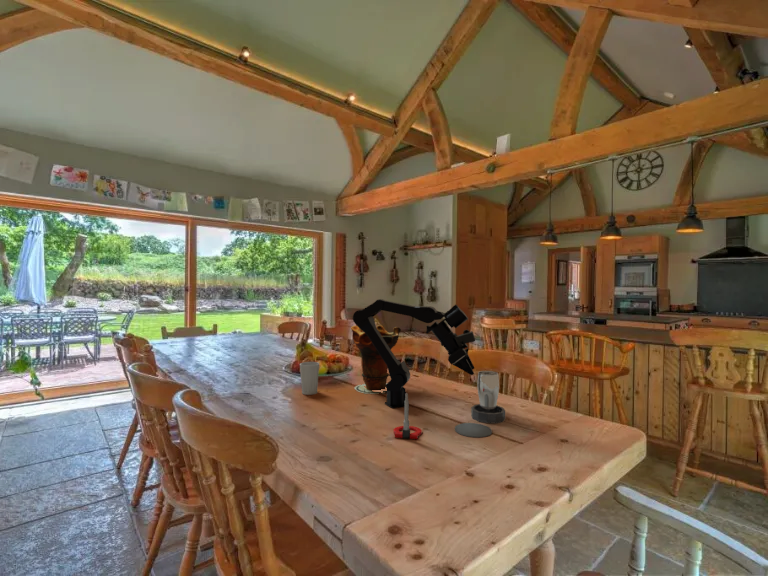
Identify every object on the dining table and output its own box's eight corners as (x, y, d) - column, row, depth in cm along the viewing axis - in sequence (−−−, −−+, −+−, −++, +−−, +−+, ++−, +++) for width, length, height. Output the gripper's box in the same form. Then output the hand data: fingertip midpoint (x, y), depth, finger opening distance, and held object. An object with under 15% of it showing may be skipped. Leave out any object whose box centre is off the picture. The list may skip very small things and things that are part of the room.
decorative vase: (410, 384, 173) (408, 321, 171) (382, 399, 153) (380, 329, 152) (371, 378, 184) (369, 319, 182) (341, 392, 164) (338, 326, 163)
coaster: (470, 440, 111) (470, 438, 111) (447, 427, 121) (447, 426, 121) (499, 433, 116) (499, 432, 116) (475, 422, 126) (475, 420, 126)
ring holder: (486, 425, 123) (486, 415, 123) (465, 415, 132) (465, 406, 132) (511, 420, 127) (511, 410, 127) (489, 410, 137) (489, 402, 137)
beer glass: (496, 414, 133) (496, 370, 133) (500, 421, 126) (500, 375, 126) (476, 414, 134) (476, 370, 134) (479, 420, 127) (479, 375, 127)
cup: (297, 391, 163) (297, 362, 163) (316, 389, 166) (316, 361, 166) (302, 396, 156) (302, 366, 156) (321, 393, 159) (321, 364, 159)
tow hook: (395, 428, 121) (391, 438, 112) (395, 386, 122) (391, 393, 113) (422, 430, 120) (420, 440, 111) (422, 388, 120) (421, 394, 111)
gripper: (462, 325, 129) (492, 363, 126) (464, 320, 147) (491, 353, 144) (435, 344, 131) (465, 383, 128) (441, 337, 149) (467, 371, 147)
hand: (473, 371), depth 137 cm, fingers open, 9 cm apart
